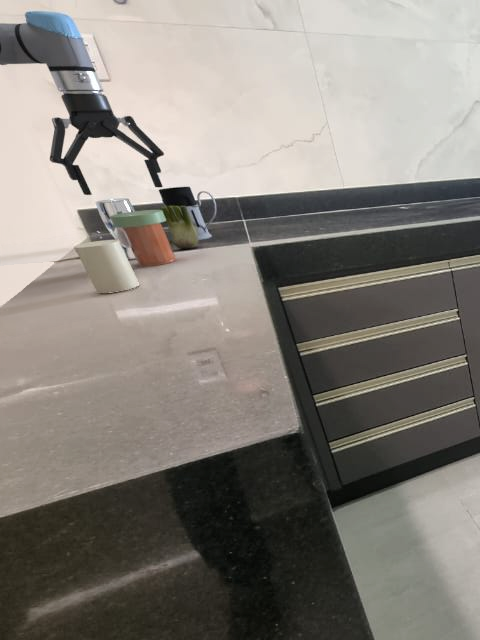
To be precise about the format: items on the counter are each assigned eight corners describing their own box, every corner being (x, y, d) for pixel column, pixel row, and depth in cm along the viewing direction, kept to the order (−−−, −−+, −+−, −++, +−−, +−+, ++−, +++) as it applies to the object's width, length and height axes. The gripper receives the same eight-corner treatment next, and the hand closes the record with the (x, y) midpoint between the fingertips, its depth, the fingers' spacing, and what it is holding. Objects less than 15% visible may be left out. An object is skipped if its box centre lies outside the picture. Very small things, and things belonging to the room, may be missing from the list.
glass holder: (189, 236, 168) (168, 187, 161) (236, 233, 169) (218, 184, 162) (170, 242, 160) (148, 191, 153) (219, 239, 161) (199, 188, 155)
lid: (122, 228, 126) (117, 218, 125) (108, 225, 131) (103, 215, 130) (173, 221, 133) (168, 211, 132) (157, 218, 138) (153, 208, 137)
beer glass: (137, 254, 147) (111, 198, 140) (161, 253, 146) (136, 197, 140) (114, 260, 140) (86, 202, 134) (138, 260, 140) (112, 201, 134)
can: (103, 296, 111) (79, 248, 106) (92, 291, 114) (69, 245, 110) (144, 286, 116) (123, 241, 112) (133, 282, 119) (112, 238, 115)
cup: (145, 267, 132) (127, 227, 127) (134, 264, 135) (116, 225, 131) (181, 260, 137) (164, 221, 133) (169, 257, 141) (153, 219, 137)
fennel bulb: (205, 246, 152) (188, 203, 147) (189, 250, 148) (171, 207, 143) (188, 246, 153) (170, 204, 148) (172, 250, 149) (153, 207, 144)
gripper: (7, 92, 108) (59, 199, 117) (156, 93, 127) (191, 184, 136) (-2, 93, 112) (49, 197, 121) (144, 94, 131) (179, 183, 140)
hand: (125, 190), depth 129 cm, fingers open, 13 cm apart
